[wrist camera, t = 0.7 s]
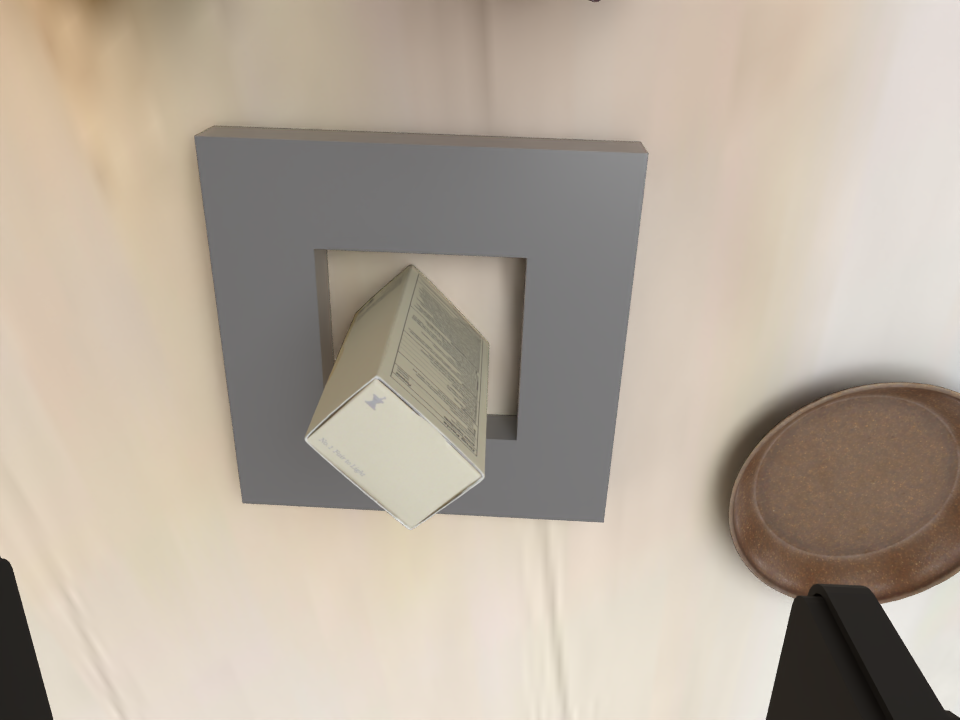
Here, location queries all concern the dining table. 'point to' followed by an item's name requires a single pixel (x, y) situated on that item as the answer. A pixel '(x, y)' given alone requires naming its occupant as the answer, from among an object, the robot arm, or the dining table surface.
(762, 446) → the saucer
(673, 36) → the dining table surface
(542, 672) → the dining table surface
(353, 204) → the socket block
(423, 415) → the skincare box
